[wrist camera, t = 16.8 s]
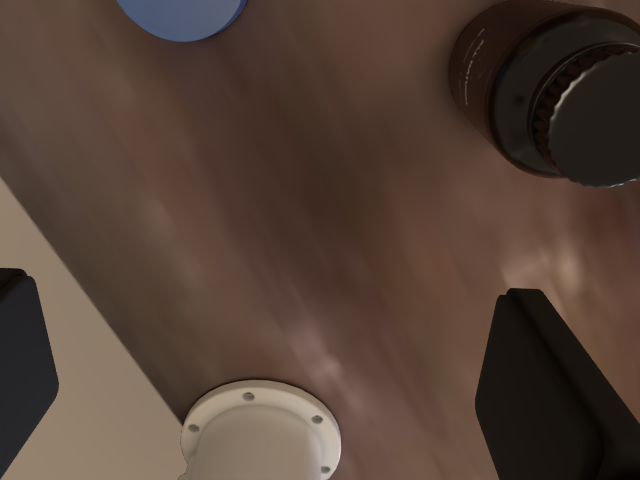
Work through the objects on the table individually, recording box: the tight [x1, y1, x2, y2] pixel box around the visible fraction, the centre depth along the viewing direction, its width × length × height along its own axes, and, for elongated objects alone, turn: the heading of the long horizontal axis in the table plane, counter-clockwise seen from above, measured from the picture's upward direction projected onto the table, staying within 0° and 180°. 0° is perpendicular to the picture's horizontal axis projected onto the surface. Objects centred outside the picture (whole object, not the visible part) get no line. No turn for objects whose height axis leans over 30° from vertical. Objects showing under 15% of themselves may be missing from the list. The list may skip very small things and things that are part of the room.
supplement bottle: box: [449, 0, 640, 188], centre depth 23 cm, size 7×7×12 cm
